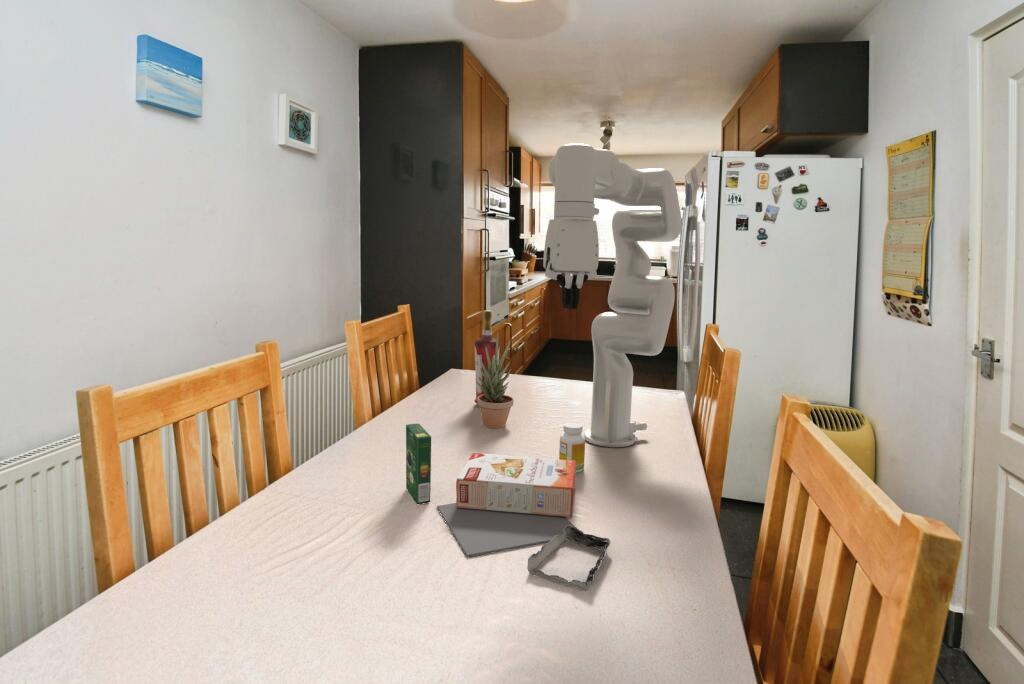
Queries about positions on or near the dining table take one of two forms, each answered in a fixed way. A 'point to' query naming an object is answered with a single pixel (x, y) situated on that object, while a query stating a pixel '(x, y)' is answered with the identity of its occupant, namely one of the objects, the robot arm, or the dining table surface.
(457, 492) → the cracker box
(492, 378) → the potted plant
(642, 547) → the dining table surface
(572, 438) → the supplement bottle
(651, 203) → the robot arm
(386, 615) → the dining table surface
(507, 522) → the notebook
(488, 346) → the liquor
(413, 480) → the coffee box
